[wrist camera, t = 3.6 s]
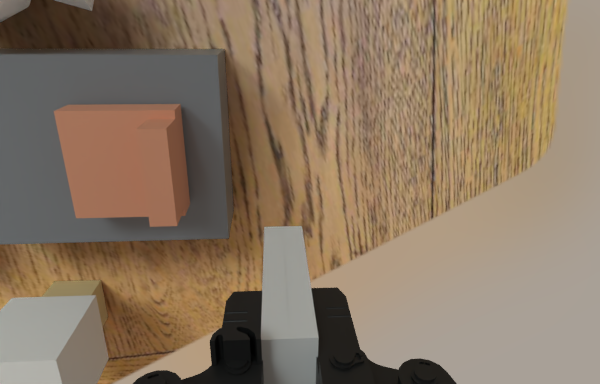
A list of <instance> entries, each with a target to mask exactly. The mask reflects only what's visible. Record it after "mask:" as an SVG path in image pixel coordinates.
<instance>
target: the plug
mask: <svg viewBox="0 0 600 384" xmlns="http://www.w3.org/2000/svg"><path fill="white" fill-rule="evenodd" d="M107 318H108V314H107V309H106V304H105V299H104V293H103V288H102V283H101V280H85V281H54V282H53V284H52V285H51V286H50V287H49V288H48V290H47V291H46V292H45V293H44V295H43V296H42V297H25V298H11V299H10V300H9V302H8V303H7V304H6V305H5V306H4V307H3V308H2V309H1V310H0V384H97V383H98V381H99V378H100V376H101V374H102V372H103V370H104V368H105V365H106V363H107V361H108V359H109V357H108V352H107V347H106V342H105V337H104V332H103V326H104V324H105V322H106V320H107Z"/></svg>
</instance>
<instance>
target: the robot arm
mask: <svg viewBox="0 0 600 384" xmlns="http://www.w3.org/2000/svg"><path fill="white" fill-rule="evenodd" d="M210 349H211V361H212V366H210V367H209V368H208V369H207V370H205V371H204V372H202V373H200V374H198V375H195V376H193V377H189V378H186V379H183V380H181V378H179V376H178V375H177V374H176V373H172V372H170V371H154V372H151V373H147V374H145V375H144V376H142V377H140V378H138V379H137V380H136V381H135V382H134V383H133V384H456V382H455V381H454V380H453V379H452V378H451V376H450V375H449V374H448V373H447V372H446V371H445V370H444V369H443V368H442V367H441V366H440V365H438V364H436V363H434V362H432V361H429V360H424V359H410V360H408V361H406V362H404V363H403V364H402V365H401V366H400V368H399V370H397V369H392V368H388V367H383V366H380V365H377V364H375V363H373V362H372V361H370V360H369V359H368V358H367V357H366V355H365V353H364V352H363V351H361V350H360V347H359V344H358V340H357V336H356V333H355V329H354V325H353V322H352V318H351V314H350V311H349V307H348V303H347V299H346V296H345V295H344V294H343V293H342V292H341V291H340V290H339V289H338V288H311V284H310V277H309V270H308V264H307V257H306V250H305V243H304V237H303V230H302V226H277V227H264V253H263V284H262V291H244V292H233V294H232V295H231V296H230V297H229V299H228V300H227V301H226V306H225V314H224V319H223V325H222V328H220V329H219V330H217V331H216V332H215V333H214V334H213V335H212V338H211V340H210Z"/></svg>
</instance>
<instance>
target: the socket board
mask: <svg viewBox="0 0 600 384" xmlns="http://www.w3.org/2000/svg"><path fill="white" fill-rule="evenodd" d="M92 104H181V114H182V124H183V134H184V145H185V155H186V165H187V176H188V186H189V196H190V205H189V208H188V210H187V213H186V215H185V216H181V218H180V221H179V223H178V225H177V226H161V227H150V223H149V217H113V218H76V216H75V211H74V206H73V202H72V197H71V192H70V187H69V182H68V178H67V173H66V168H65V163H64V158H63V154H62V149H61V144H60V139H59V134H58V130H57V125H56V120H55V115H54V111H55V110H57V109H60V108H62V107H64V106H66V105H92ZM233 211H234V207H233V189H232V171H231V153H230V135H229V117H228V99H227V81H226V64H225V49H0V244H36V243H74V242H113V241H151V240H190V239H228V238H229V234H230V228H231V223H232V217H233Z"/></svg>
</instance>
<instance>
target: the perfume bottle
mask: <svg viewBox="0 0 600 384" xmlns="http://www.w3.org/2000/svg"><path fill="white" fill-rule="evenodd" d="M55 1H58V2H62V3H65V4H69V5H72V6H76V7H79V8H83V9H86V10H90V11H92V8H93V3H94V0H55ZM30 2H31V0H0V22H2V21H4V20H6V19H7V18H9V17H11V16H13V15H15V14H17V13H18V12H20V11H22V10H24V9H26V8H27V7H29V5H30Z"/></svg>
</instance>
